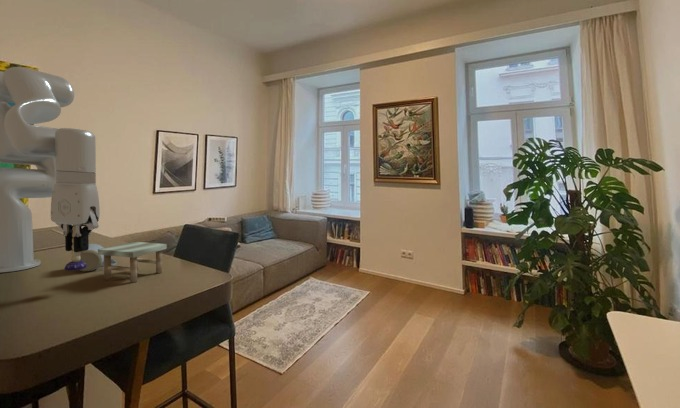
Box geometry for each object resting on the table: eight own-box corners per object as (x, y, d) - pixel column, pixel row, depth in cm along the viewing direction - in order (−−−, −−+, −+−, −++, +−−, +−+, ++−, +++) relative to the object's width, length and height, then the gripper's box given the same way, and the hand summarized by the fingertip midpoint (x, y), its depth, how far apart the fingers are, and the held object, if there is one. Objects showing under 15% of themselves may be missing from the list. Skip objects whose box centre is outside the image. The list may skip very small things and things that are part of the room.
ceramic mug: (71, 274, 89) (71, 249, 89) (77, 267, 96) (77, 244, 95) (115, 270, 95) (115, 246, 94) (117, 264, 102) (117, 242, 101)
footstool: (98, 280, 84) (97, 249, 84) (135, 268, 96) (134, 241, 96) (133, 284, 82) (133, 252, 82) (166, 271, 94) (166, 244, 93)
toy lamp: (75, 264, 78) (75, 202, 77) (94, 265, 78) (94, 203, 77) (59, 270, 73) (59, 204, 72) (79, 271, 74) (79, 205, 72)
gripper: (33, 176, 72) (35, 250, 73) (86, 180, 69) (86, 257, 70) (67, 177, 79) (68, 244, 81) (116, 181, 76) (116, 250, 78)
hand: (77, 249), depth 75 cm, fingers closed on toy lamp
